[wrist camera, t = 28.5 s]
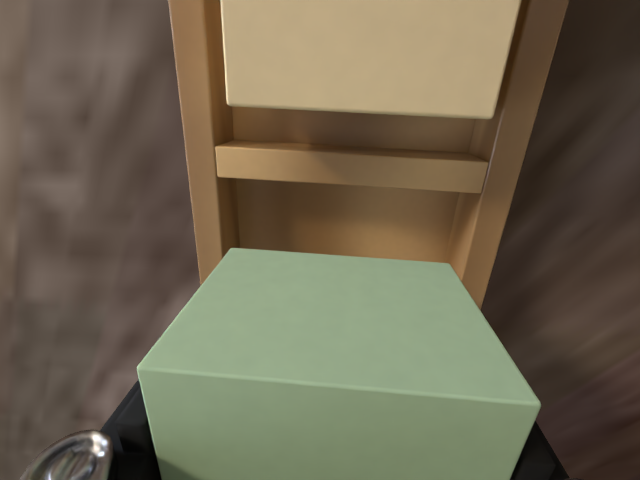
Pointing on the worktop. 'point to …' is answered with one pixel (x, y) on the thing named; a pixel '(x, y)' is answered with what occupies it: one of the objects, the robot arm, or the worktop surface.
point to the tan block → (368, 55)
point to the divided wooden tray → (355, 162)
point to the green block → (333, 375)
